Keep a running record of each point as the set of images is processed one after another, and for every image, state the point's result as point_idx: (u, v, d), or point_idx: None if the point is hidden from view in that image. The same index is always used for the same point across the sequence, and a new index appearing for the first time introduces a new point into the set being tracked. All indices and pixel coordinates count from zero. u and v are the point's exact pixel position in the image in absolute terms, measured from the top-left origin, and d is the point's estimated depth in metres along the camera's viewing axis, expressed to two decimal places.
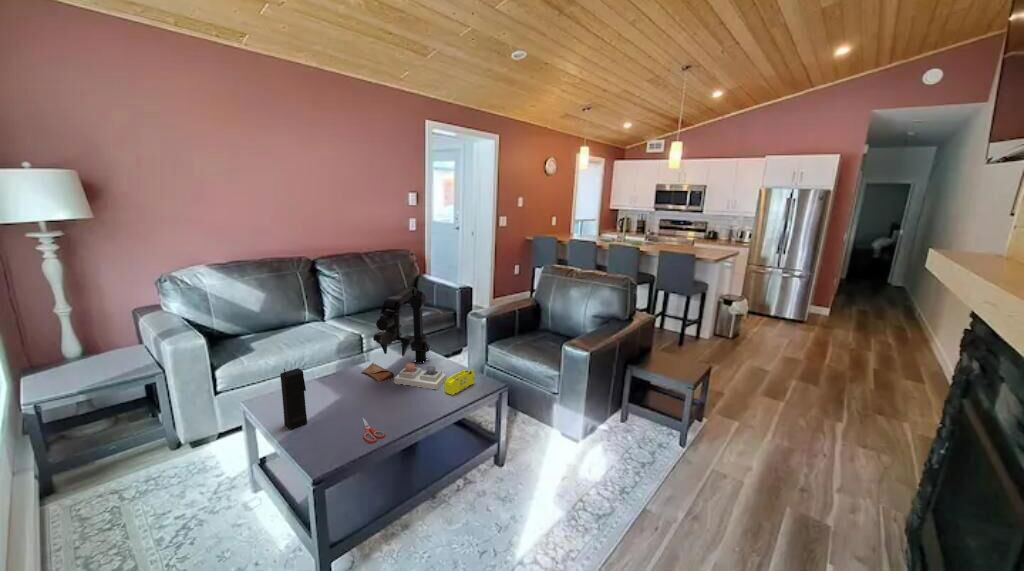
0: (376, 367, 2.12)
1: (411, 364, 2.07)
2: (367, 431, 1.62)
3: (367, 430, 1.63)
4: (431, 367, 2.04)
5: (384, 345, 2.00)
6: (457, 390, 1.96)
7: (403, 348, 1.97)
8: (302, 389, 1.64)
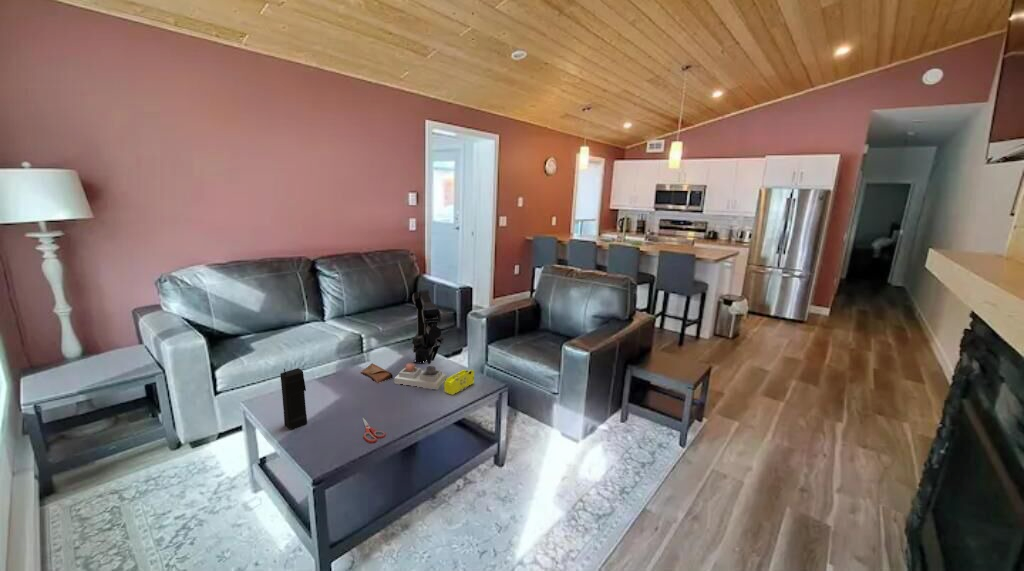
0: (375, 367, 2.12)
1: (411, 364, 2.07)
2: (367, 431, 1.62)
3: (367, 430, 1.63)
4: (431, 367, 2.04)
5: (431, 351, 2.04)
6: (457, 390, 1.96)
7: None
8: (302, 389, 1.64)
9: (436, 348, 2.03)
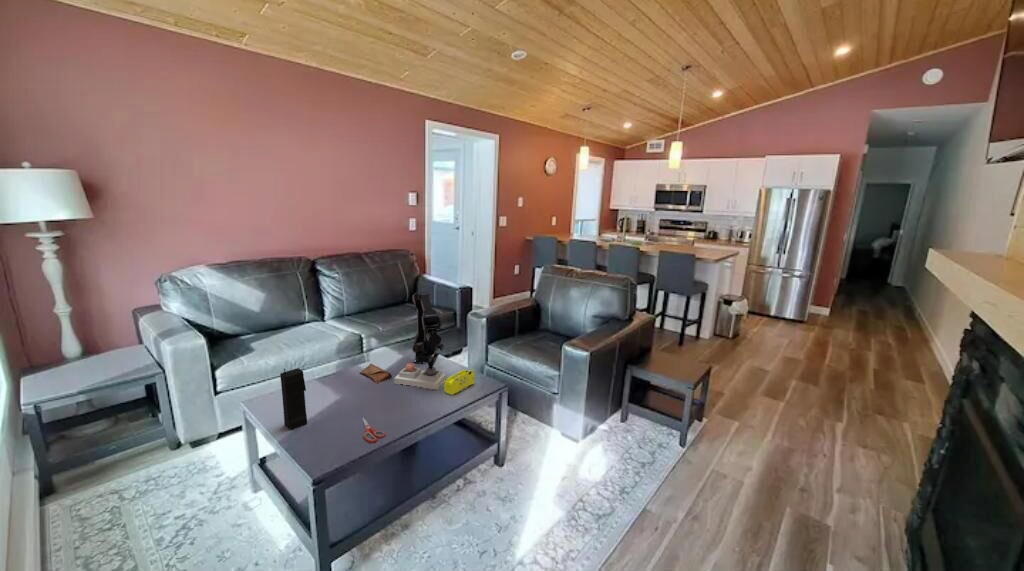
0: (374, 368, 2.12)
1: (411, 364, 2.07)
2: (367, 431, 1.62)
3: (367, 430, 1.63)
4: None
5: None
6: (457, 390, 1.96)
7: None
8: (302, 389, 1.64)
9: (435, 356, 2.02)
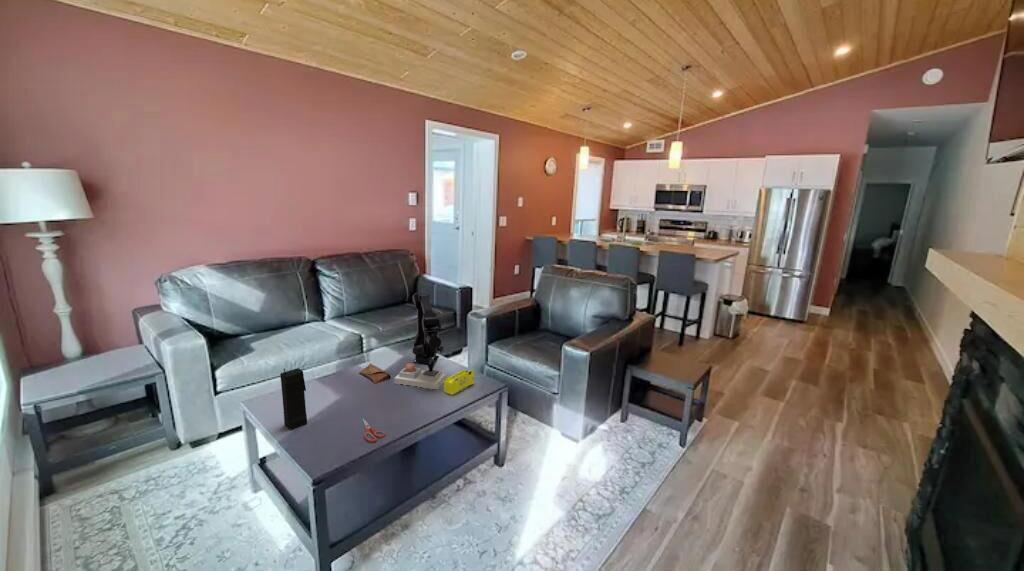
0: (373, 368, 2.11)
1: (411, 364, 2.07)
2: (367, 431, 1.62)
3: (367, 430, 1.63)
4: None
5: None
6: (456, 390, 1.96)
7: None
8: (302, 389, 1.64)
9: None
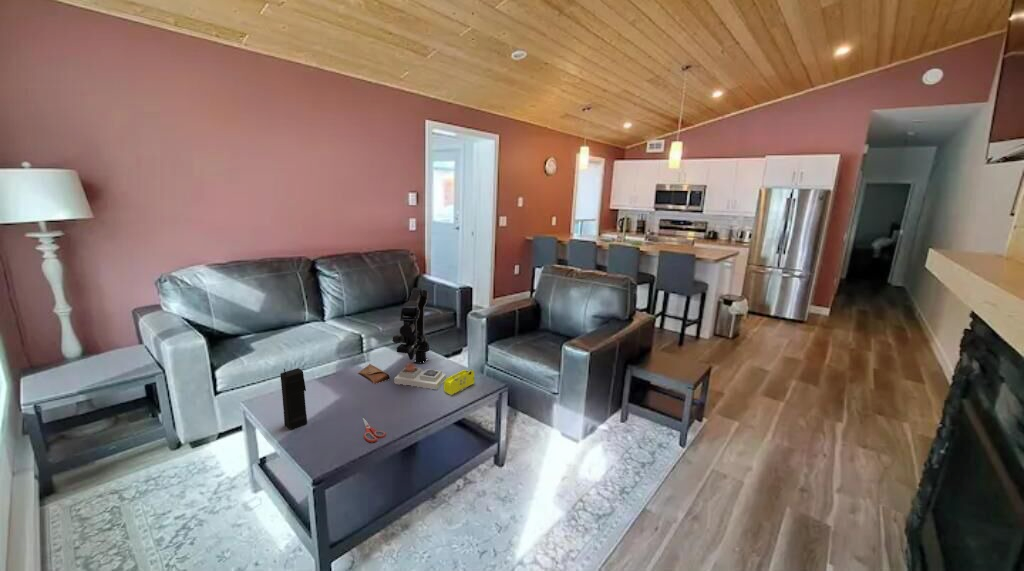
0: (372, 368, 2.11)
1: (411, 364, 2.07)
2: (367, 431, 1.62)
3: (367, 430, 1.63)
4: (431, 371, 2.05)
5: None
6: (456, 390, 1.96)
7: None
8: (302, 389, 1.64)
9: (415, 347, 2.04)
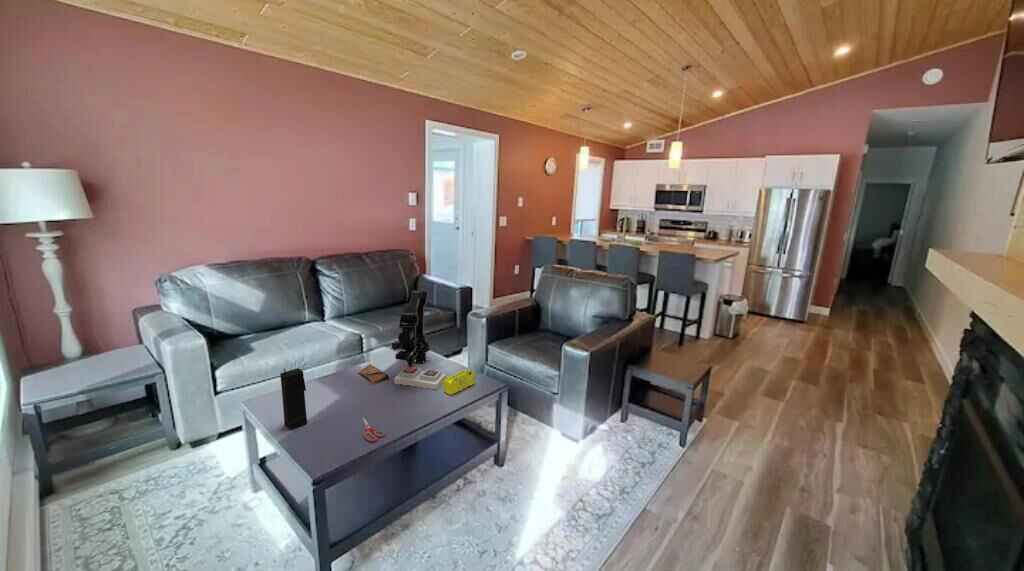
0: (372, 368, 2.11)
1: None
2: (367, 431, 1.62)
3: (367, 430, 1.63)
4: (431, 371, 2.05)
5: None
6: (456, 390, 1.96)
7: None
8: (302, 389, 1.64)
9: (414, 354, 2.05)
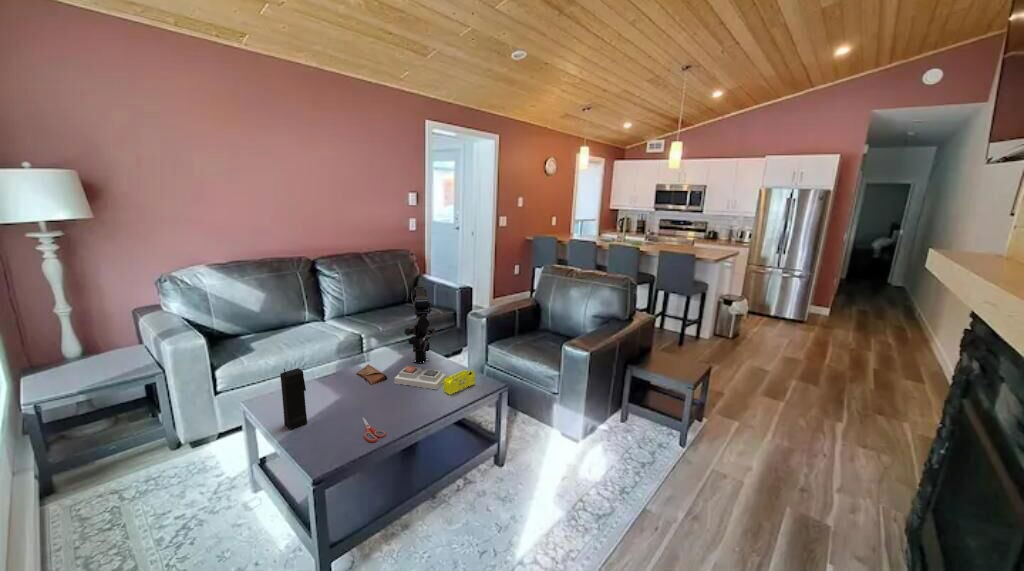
0: (370, 369, 2.10)
1: (411, 367, 2.07)
2: (368, 431, 1.62)
3: (367, 430, 1.63)
4: (431, 371, 2.05)
5: None
6: (455, 390, 1.96)
7: None
8: (302, 389, 1.64)
9: (426, 339, 2.12)
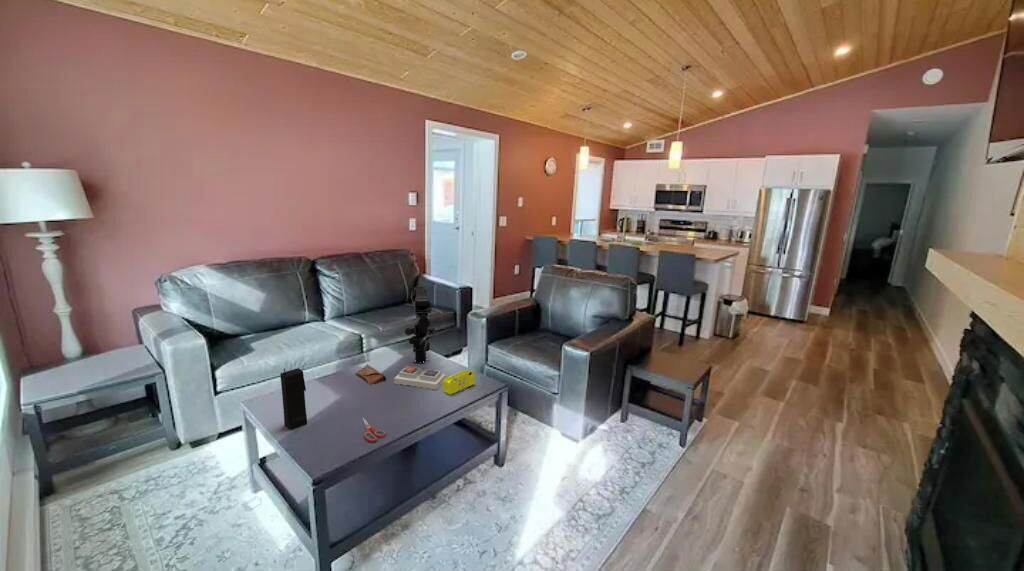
0: (369, 369, 2.10)
1: (411, 367, 2.07)
2: (368, 430, 1.62)
3: (368, 429, 1.63)
4: (431, 371, 2.05)
5: None
6: (455, 390, 1.96)
7: None
8: (302, 389, 1.64)
9: (426, 339, 2.12)
